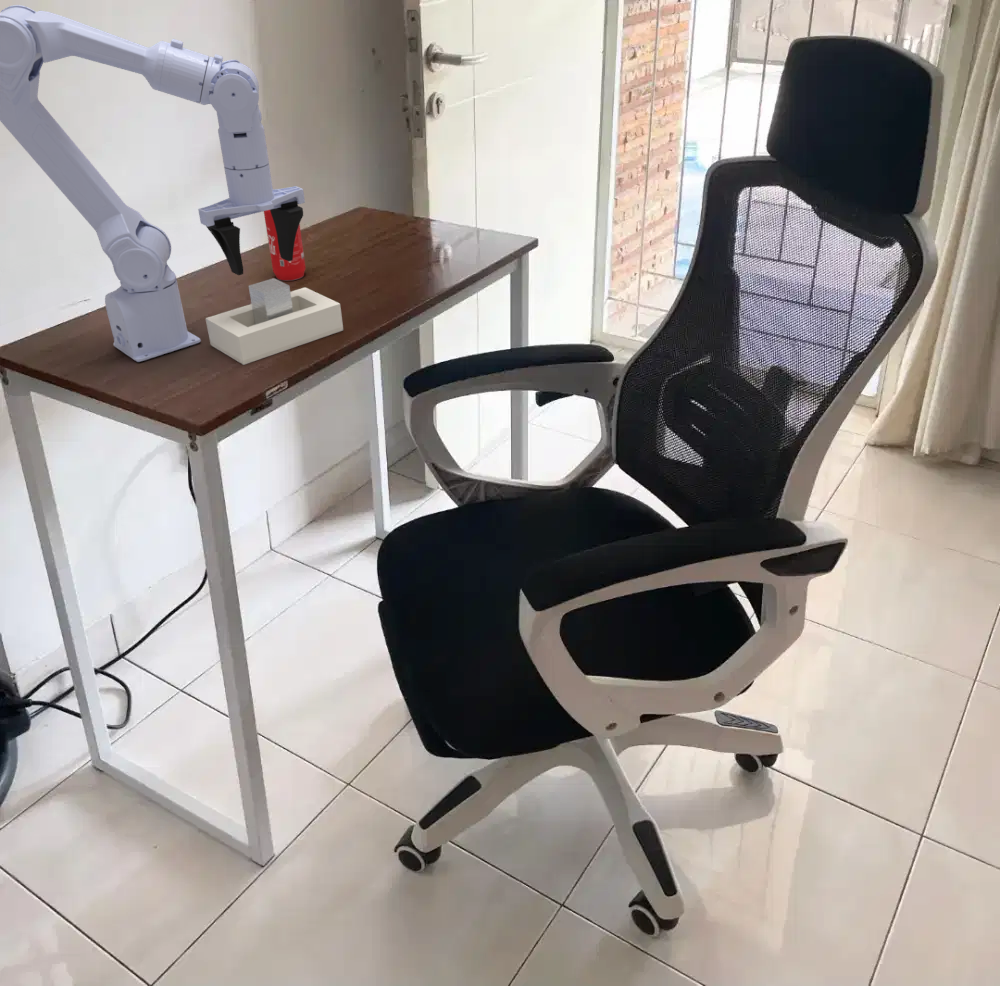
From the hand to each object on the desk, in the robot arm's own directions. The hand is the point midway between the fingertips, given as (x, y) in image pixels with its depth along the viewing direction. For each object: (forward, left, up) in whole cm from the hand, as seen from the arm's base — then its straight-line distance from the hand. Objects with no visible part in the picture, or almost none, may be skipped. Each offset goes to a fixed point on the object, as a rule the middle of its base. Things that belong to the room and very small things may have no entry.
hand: (262, 266), depth 137 cm
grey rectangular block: (0, -2, -9) cm, 9 cm away
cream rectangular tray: (0, -2, -10) cm, 10 cm away
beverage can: (+14, +18, -10) cm, 25 cm away
